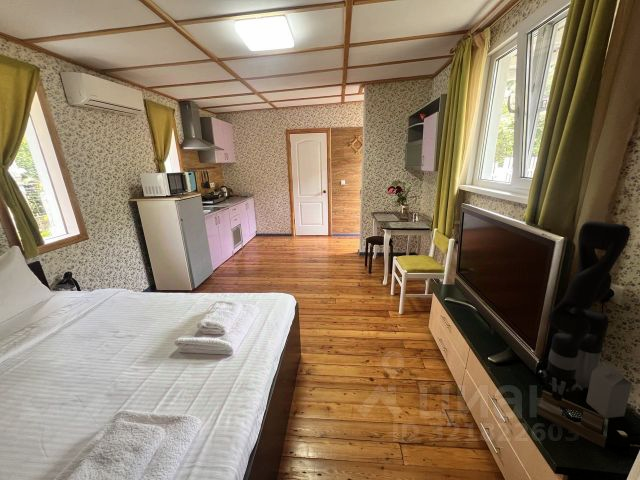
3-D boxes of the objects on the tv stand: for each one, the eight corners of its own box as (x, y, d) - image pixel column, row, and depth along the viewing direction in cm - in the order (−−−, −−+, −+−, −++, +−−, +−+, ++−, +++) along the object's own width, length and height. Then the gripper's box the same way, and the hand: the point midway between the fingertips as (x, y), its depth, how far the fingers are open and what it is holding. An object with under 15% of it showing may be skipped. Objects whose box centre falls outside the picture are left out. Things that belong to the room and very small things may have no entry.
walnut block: (581, 419, 96) (583, 410, 95) (601, 428, 92) (603, 419, 91) (579, 428, 93) (581, 419, 92) (599, 438, 89) (601, 429, 88)
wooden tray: (542, 397, 107) (543, 390, 106) (606, 427, 94) (608, 418, 93) (536, 413, 101) (537, 405, 100) (604, 447, 87) (606, 438, 86)
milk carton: (603, 400, 103) (612, 360, 98) (624, 416, 96) (634, 374, 92) (585, 402, 103) (593, 362, 98) (605, 418, 96) (614, 376, 92)
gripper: (589, 364, 92) (582, 403, 97) (541, 348, 102) (537, 383, 107) (586, 377, 87) (579, 416, 92) (536, 358, 97) (532, 394, 102)
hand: (556, 398), depth 99 cm, fingers closed
